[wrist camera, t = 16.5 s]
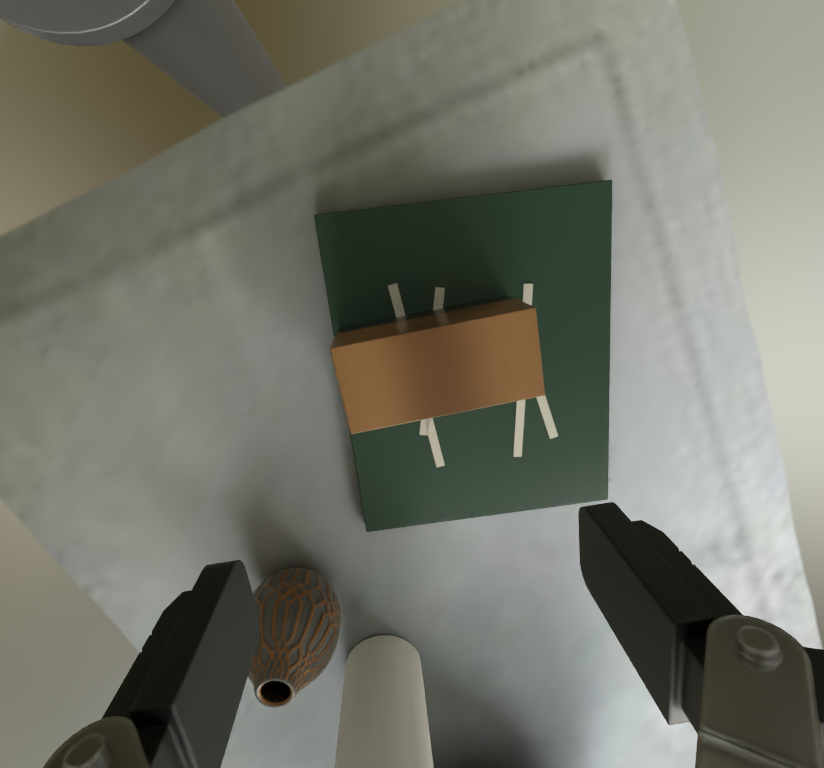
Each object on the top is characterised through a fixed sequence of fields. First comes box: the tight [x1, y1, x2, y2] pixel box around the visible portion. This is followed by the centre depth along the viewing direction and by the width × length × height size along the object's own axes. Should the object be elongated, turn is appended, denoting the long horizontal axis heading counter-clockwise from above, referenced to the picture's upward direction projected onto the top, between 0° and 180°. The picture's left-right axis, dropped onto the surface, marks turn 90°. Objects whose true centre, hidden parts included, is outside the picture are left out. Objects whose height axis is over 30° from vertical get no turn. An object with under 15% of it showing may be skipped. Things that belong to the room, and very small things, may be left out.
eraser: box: [330, 296, 545, 434], centre depth 28 cm, size 11×5×6 cm, turn 100°
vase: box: [248, 568, 340, 708], centre depth 32 cm, size 7×7×9 cm
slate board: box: [314, 180, 612, 532], centre depth 32 cm, size 22×18×1 cm
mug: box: [335, 635, 434, 768], centre depth 34 cm, size 10×7×12 cm, turn 25°
